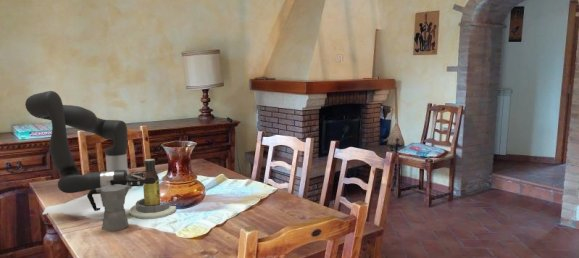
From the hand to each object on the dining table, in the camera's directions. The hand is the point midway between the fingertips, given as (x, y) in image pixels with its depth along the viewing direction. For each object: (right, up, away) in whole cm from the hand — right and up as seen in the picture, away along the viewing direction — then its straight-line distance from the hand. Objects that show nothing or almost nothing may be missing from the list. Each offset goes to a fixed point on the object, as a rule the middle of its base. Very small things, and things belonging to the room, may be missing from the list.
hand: (156, 177), depth 185 cm
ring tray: (-2, -14, +2) cm, 14 cm away
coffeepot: (-12, -17, -16) cm, 26 cm away
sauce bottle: (-2, -13, +1) cm, 13 cm away
